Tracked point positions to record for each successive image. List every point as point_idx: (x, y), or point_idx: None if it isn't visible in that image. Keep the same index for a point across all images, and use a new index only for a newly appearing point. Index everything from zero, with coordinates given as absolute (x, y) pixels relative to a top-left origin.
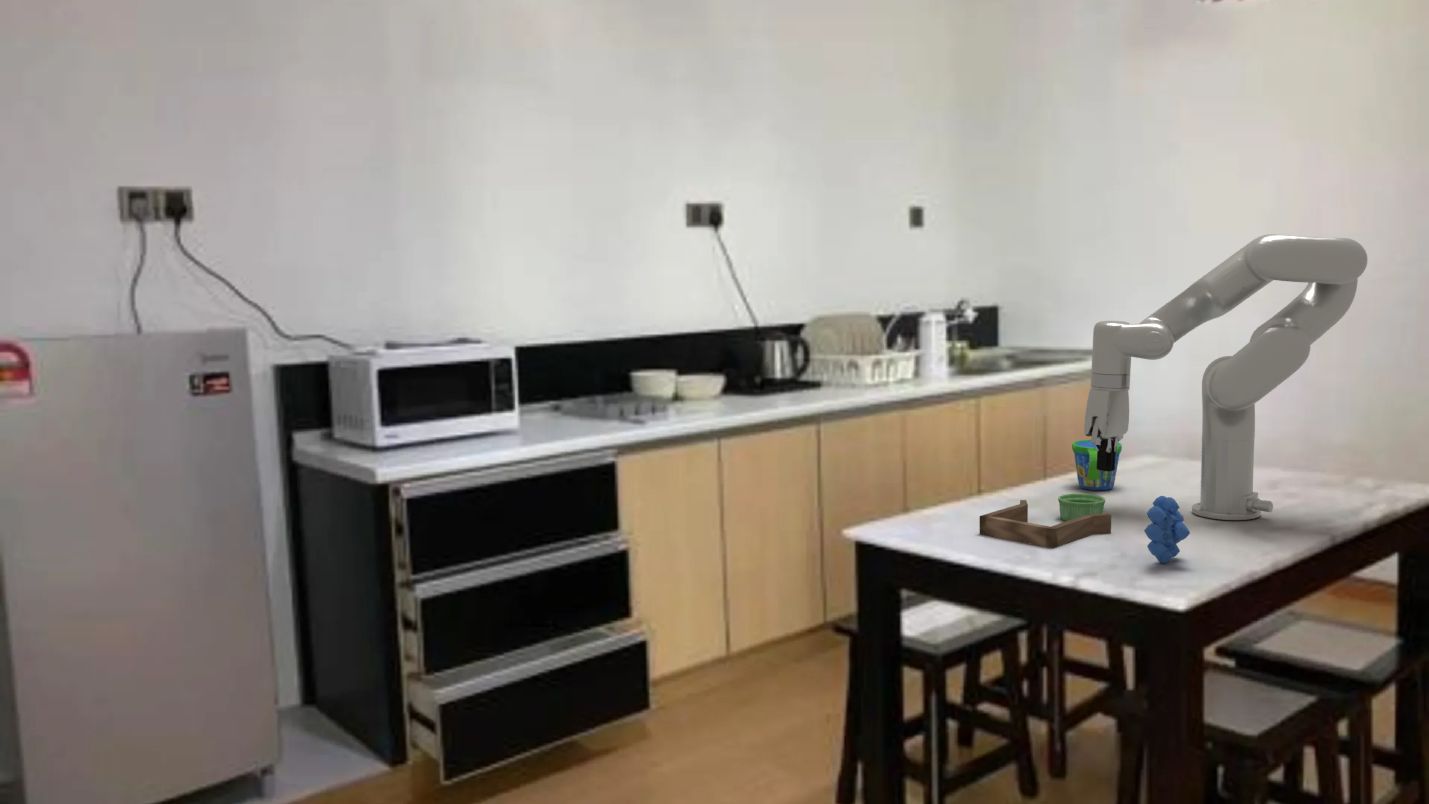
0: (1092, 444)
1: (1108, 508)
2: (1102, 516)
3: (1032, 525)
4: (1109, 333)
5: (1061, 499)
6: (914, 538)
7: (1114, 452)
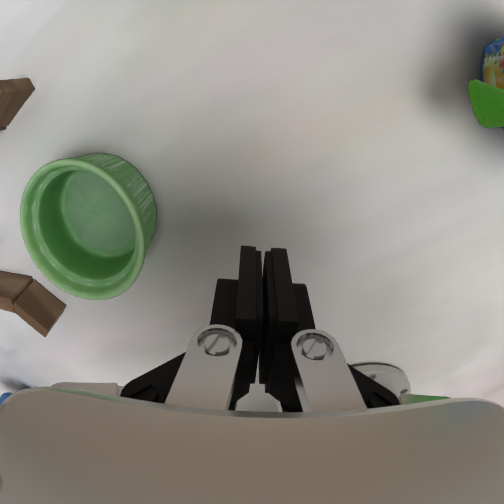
0: None
1: (279, 209)
2: (31, 323)
3: None
4: None
5: (54, 170)
6: None
7: (265, 390)
